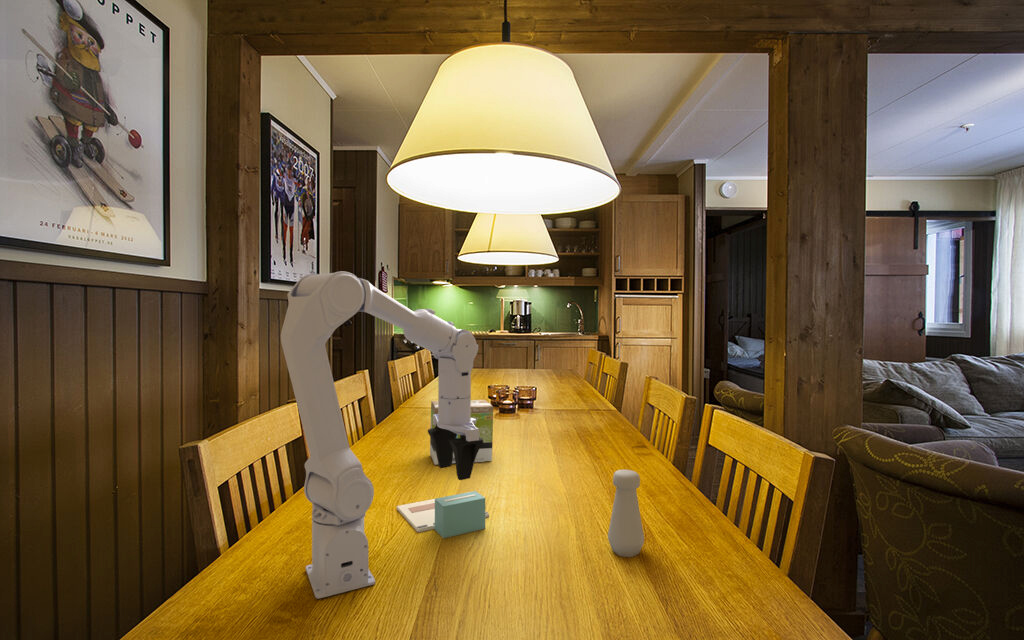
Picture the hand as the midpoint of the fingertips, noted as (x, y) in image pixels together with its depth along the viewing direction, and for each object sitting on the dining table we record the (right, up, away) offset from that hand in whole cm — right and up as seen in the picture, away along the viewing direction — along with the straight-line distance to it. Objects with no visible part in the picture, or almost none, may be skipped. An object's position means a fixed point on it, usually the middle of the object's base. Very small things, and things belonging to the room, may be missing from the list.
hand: (454, 472), depth 91 cm
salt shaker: (+29, -11, -8) cm, 32 cm away
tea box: (-3, -9, +43) cm, 44 cm away
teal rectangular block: (+1, -10, 0) cm, 10 cm away
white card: (-3, -10, +7) cm, 12 cm away
